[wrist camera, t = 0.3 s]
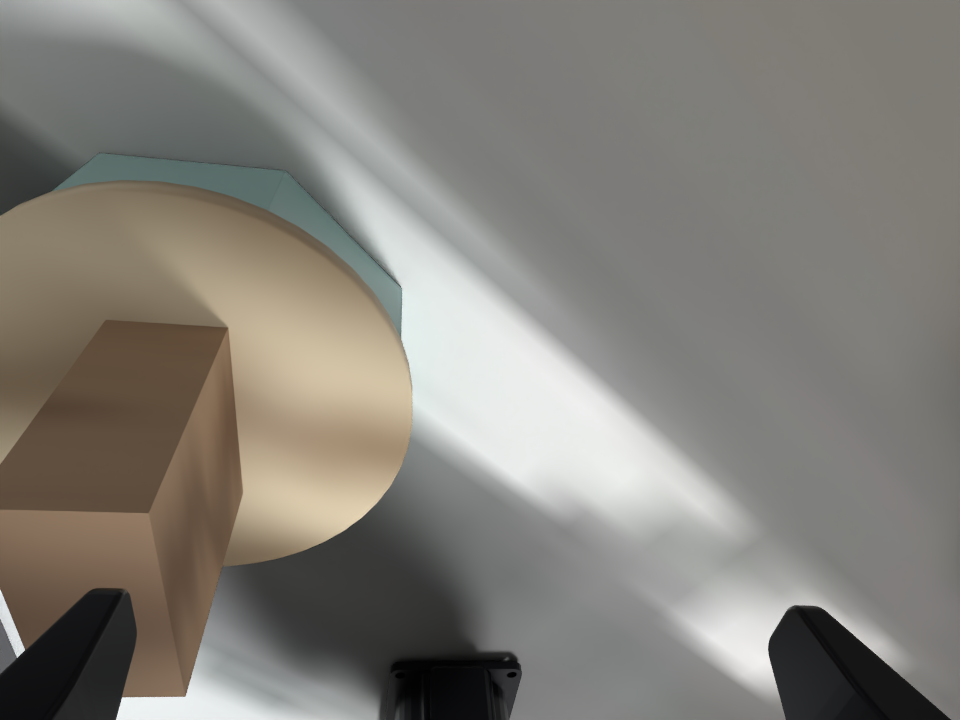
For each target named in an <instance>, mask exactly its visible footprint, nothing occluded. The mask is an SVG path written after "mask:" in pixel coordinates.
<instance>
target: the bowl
mask: <svg viewBox="0 0 960 720" xmlns="http://www.w3.org/2000/svg"><path fill="white" fill-rule="evenodd" d="M117 180H136V181H161V182H168V183H175V184H181V185H188V186H195V187H199V188H203V189H207V190H210V191H214V192H218V193H221V194H225V195H229V196H233V197H235V198H238V199H240V200H243V201H245V202H248V203H251V204H253V205H256V206H258V207H261V208H263V209H266V210H268V211H270V212H272V213H274V214H276V215H278V216H280V217H281V218H283V219H285V220H287V221H289V222H291V223H293V224H295V225H297V226H298V227H300V228H302V229H303V230H304V231H306V232H307V233H309V234H310V235H312V236H313V237H315V238H316V239H318V240H319V241H321V242H322V243H323V244H325V245H326V246H328V247H329V248H330V249H331V250H332V251H334V252H335V253H336V254H337V255H338V256H339V257H340V258H342V259H343V260H344V261H345V262H346V263H347V264H348V265H350V266H351V267H352V268H353V269H354V270H355V271H356V273H357V274H358V275H359V276H360V277H361V278H362V279H363V280H364V282H365V283H366V284H367V285H368V286H369V287H370V288H371V289H372V290H373V292H374V293H375V295H376V296H377V298H378V299H379V301H380V302H381V304H382V305H383V307H384V308H385V309H386V311H387V312H388V314H389V316H390V318H391V320H392V322H393V324H394V326H395V328H396V330H397V332H398V334H399V336H400V338H401V319H402V288H400V286H399V285H398V284H397V283H396V282H395V281H394V280H393V279H392V278H391V277H390V276H389V275H388V274H387V273H386V272H385V271H384V270H383V269H382V268H381V267H380V266H379V265H378V264H377V263H376V262H375V261H374V260H373V259H372V258H371V257H370V256H369V255H368V254H367V253H366V252H365V251H364V250H363V249H362V248H361V247H360V246H359V245H358V244H357V243H356V242H355V241H354V240H353V239H352V238H351V237H350V236H349V235H348V234H347V232H346V231H345V230H344V229H343V228H342V227H341V226H340V225H339V224H338V223H337V222H336V221H335V220H334V219H333V218H332V217H331V216H330V215H329V214H328V213H327V212H326V211H325V210H324V209H323V208H322V207H321V206H320V205H319V204H318V203H317V202H316V201H315V200H314V199H313V198H312V197H311V196H310V195H309V194H308V193H307V192H306V191H305V190H304V189H303V188H302V187H301V186H300V185H299V184H298V183H297V182H296V181H295V180H294V179H293V177H292V176H291V175H290V174H289V173H288V172H287V171H286V170H285V171H283V170H273V169H262V168H252V167H241V166H231V165H220V164H210V163H199V162H189V161H178V160H168V159H157V158H147V157H136V156H126V155H115V154H105V153H99V154H97V155H96V156H95V157H94V158H92V159H91V160H90V161H89V162H87V163H86V164H85V165H84V166H82V167H81V168H80V169H79V170H77V171H76V172H75V173H74V174H72V175H71V176H70V177H69V178H68V179H66V180H65V181H64V182H63V183H61V184H60V185H59V186H58V187H56V188H55V189H54V190H53V191H56V190H60V189H64V188H69V187H73V186H77V185H81V184H86V183H96V182H107V181H117ZM51 192H52V191H51Z"/></svg>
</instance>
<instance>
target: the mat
mask: <svg viewBox="0 0 960 720" xmlns="http://www.w3.org/2000/svg"><path fill="white" fill-rule="evenodd" d="M16 659H17V658H16V656H15V653H14V651H13V649H12V646H11V644H10V641H9V639H8V637H7V634H6V632H5V630H4V627H3V625H2V623H1V620H0V674H1V673H2V672H3V671H4V670H5V669H6V668H7V667H8V666H9V665H10V664H11V663H12V662H13V661H14V660H16Z"/></svg>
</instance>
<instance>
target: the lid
mask: <svg viewBox="0 0 960 720" xmlns="http://www.w3.org/2000/svg"><path fill="white" fill-rule="evenodd" d="M411 428H412V381H411V375H410V369H409V362H408V359H407V356H406V353H405V350H404V347H403V344H402V341H401V338H400V336H399V334H398V332H397V330H396V328H395V326H394V324H393V322H392V320H391V318H390V316H389V314H388V312H387V311H386V309H385V308H384V307H383V305H382V304H381V302H380V301H379V299H378V298H377V296H376V295H375V293H374V292H373V290H372V289H371V288H370V287H369V286H368V285H367V284H366V283H365V282H364V280H363V279H362V278H361V277H360V276H359V275H358V274H357V273H356V271H355V270H354V269H353V268H352V267H351V266H350V265H348V264H347V263H346V262H345V261H344V260H343V259H342V258H340V257H339V256H338V255H337V254H336V253H335V252H334V251H332V250H331V249H330V248H329V247H328V246H326V245H325V244H323V243H322V242H321V241H319V240H318V239H316V238H315V237H313V236H312V235H310V234H309V233H307V232H306V231H304V230H303V229H302V228H300V227H298V226H297V225H295V224H293V223H291V222H289V221H287V220H285V219H283V218H281V217H280V216H278V215H276V214H274V213H272V212H270V211H268V210H266V209H263V208H261V207H258V206H256V205H253V204H251V203H248V202H245V201H243V200H240V199H238V198H235V197H233V196H229V195H225V194H221V193H218V192H214V191H210V190H207V189H203V188H199V187H195V186H188V185H181V184H175V183H168V182H161V181H136V180H117V181H107V182H96V183H86V184H81V185H77V186H73V187H69V188H64V189H60V190H56V191H52V192H49V193H46V194H44V195H41V196H39V197H36V198H34V199H31V200H29V201H26V202H24V203H21V204H19V205H18V206H16V207H14V208H13V209H11V210H9V211H8V212H6V213H4V214H2V215H1V216H0V589H1V592H2V594H3V596H4V599H5V601H6V604H7V606H8V609H9V611H10V614H11V616H12V619H13V621H14V623H15V626H16V628H17V631H18V633H19V636H20V638H21V641H22V643H23V646H24V648H25V650H26V649H27V648H28V647H29V646H30V645H32V644H33V643H34V642H35V641H36V640H37V639H38V638H39V637H40V636H41V635H42V634H43V633H44V632H45V631H46V630H47V629H49V628H50V627H51V626H52V625H53V624H54V623H55V622H56V621H57V620H58V619H59V618H60V617H61V616H62V615H63V614H64V613H66V612H67V611H68V610H69V609H70V608H71V607H72V606H73V605H74V604H75V603H76V602H77V601H78V600H79V599H80V598H81V597H83V596H84V595H85V594H86V593H87V592H88V591H90V590H92V589H94V588H124V589H126V590H127V591H128V592H129V594H130V596H131V601H132V606H133V611H134V616H135V621H136V627H137V639H136V645H135V650H134V653H133V657H132V661H131V665H130V669H129V672H128V676H127V680H126V684H125V687H124V691H123V695H122V697H185V696H186V693H187V689H188V686H189V682H190V679H191V675H192V671H193V668H194V664H195V661H196V657H197V654H198V650H199V647H200V643H201V640H202V636H203V633H204V629H205V626H206V622H207V619H208V615H209V612H210V608H211V605H212V601H213V597H214V594H215V590H216V587H217V583H218V580H219V576H220V573H221V569H222V566H235V565H244V564H253V563H259V562H263V561H268V560H273V559H278V558H282V557H285V556H288V555H292V554H295V553H298V552H301V551H304V550H306V549H309V548H311V547H313V546H316V545H318V544H320V543H323V542H325V541H327V540H328V539H330V538H332V537H334V536H336V535H337V534H339V533H341V532H343V531H344V530H346V529H347V528H348V527H350V526H351V525H352V524H354V523H355V522H357V521H358V520H359V519H361V518H362V517H363V516H364V515H365V514H366V513H367V512H368V511H369V510H370V509H371V508H372V507H373V506H374V505H375V504H376V503H378V501H379V500H380V499H381V497H382V496H383V495H384V494H385V492H386V491H387V490H388V488H389V487H390V486H391V484H392V482H393V480H394V479H395V477H396V475H397V473H398V471H399V470H400V468H401V465H402V463H403V460H404V457H405V454H406V452H407V449H408V445H409V440H410V434H411Z"/></svg>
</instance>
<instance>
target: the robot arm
mask: <svg viewBox="0 0 960 720" xmlns="http://www.w3.org/2000/svg"><path fill="white" fill-rule="evenodd" d="M136 639H137V627H136V621H135V616H134V611H133V606H132V601H131V596H130V594H129V592H128V591H127V590H126V589H124V588H94V589H92V590H90V591H88V592H87V593H86V594H85V595H84V596H83V597H81V598H80V599H79V600H78V601H77V602H76V603H75V604H74V605H73V606H72V607H71V608H70V609H69V610H68V611H67V612H66V613H64V614H63V615H62V616H61V617H60V618H59V619H58V620H57V621H56V622H55V623H54V624H53V625H52V626H51V627H50V628H49V629H47V630H46V631H45V632H44V633H43V634H42V635H41V636H40V637H39V638H38V639H37V640H36V641H35V642H34V643H33V644H32V645H30V646H29V647H28V648H27V649H26V650H25V651H24V652H23V653H22V654H21V655H20V656H19V657H18V658H17V659H16V660H14V661H13V662H12V663H11V664H10V665H9V666H8V667H7V668H6V669H5V670H4V671H3V672H2V673H1V674H0V720H116V717H117V714H118V710H119V706H120V702H121V699H122V695H123V691H124V687H125V684H126V680H127V676H128V672H129V669H130V665H131V661H132V657H133V653H134V650H135V645H136ZM768 651H769V658H770V662H771V665H772V669H773V673H774V677H775V680H776V684H777V688H778V691H779V695H780V699H781V702H782V706H783V710H784V714H785V717H786V720H951V719H950V718H948V717H947V716H946V715H945V714H944V713H943V712H942V711H940V710H939V709H938V708H937V707H936V706H935V705H933V704H932V703H931V702H930V701H929V700H928V699H927V698H925V697H924V696H923V695H922V694H921V693H920V692H918V691H917V690H916V689H915V688H914V687H913V686H912V685H910V684H909V683H908V682H907V681H906V680H905V679H904V678H902V677H901V676H900V675H899V674H898V673H897V672H895V671H894V670H893V669H892V668H891V667H890V666H889V665H887V664H886V663H885V662H884V661H883V660H882V659H880V658H879V657H878V656H877V655H876V654H875V653H874V652H872V651H871V650H870V649H869V648H868V647H867V646H866V645H864V644H863V643H862V642H861V641H860V640H859V639H857V638H856V637H855V636H854V635H853V634H852V633H851V632H849V631H848V630H847V629H846V628H845V627H844V626H842V625H841V624H840V623H839V622H838V621H837V620H836V619H834V618H833V617H832V616H831V615H830V614H829V613H828V612H826V611H825V610H823V609H822V608H820V607H817V606H799V605H795V606H792V607H790V608H789V609H788V610H787V611H786V613H785V614H784V616H783V617H782V619H781V621H780V622H779V624H778V626H777V627H776V629H775V631H774V632H773V634H772V636H771V637H770V640H769V646H768ZM521 676H522V672H521V665H520V664H519V663H517V662H397V663H394V664H393V665H391V667H390V675H389V685H388V696H387V707H386V717H385V720H509V718H510V715H511V711H512V708H513V704H514V701H515V697H516V694H517V690H518V686H519V683H520V679H521Z"/></svg>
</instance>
